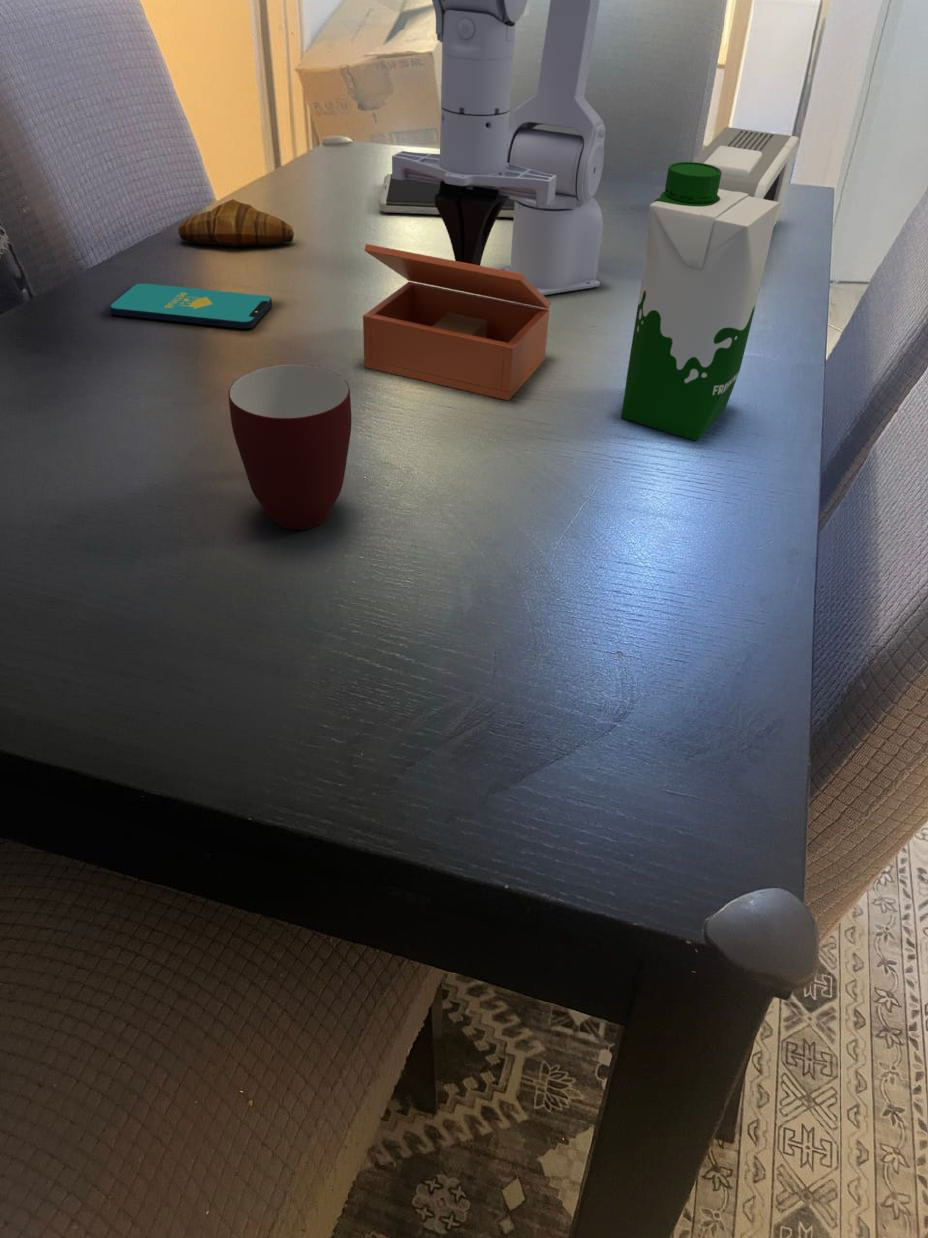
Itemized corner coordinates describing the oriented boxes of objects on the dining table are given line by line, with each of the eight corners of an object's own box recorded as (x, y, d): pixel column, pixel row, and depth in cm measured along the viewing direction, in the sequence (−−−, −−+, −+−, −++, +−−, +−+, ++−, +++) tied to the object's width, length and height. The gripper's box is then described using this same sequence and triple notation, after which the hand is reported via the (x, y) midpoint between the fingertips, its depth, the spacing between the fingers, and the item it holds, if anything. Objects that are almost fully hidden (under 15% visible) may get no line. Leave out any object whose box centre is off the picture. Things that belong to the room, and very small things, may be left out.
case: (508, 400, 85) (512, 347, 82) (364, 367, 89) (362, 315, 86) (544, 359, 92) (549, 309, 89) (408, 330, 96) (408, 280, 93)
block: (465, 370, 88) (466, 339, 86) (425, 361, 89) (426, 330, 87) (485, 350, 91) (487, 319, 89) (447, 341, 92) (448, 311, 90)
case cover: (520, 280, 79) (522, 273, 79) (364, 250, 83) (365, 243, 83) (549, 308, 89) (550, 302, 89) (408, 280, 93) (409, 274, 93)
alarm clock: (741, 290, 108) (766, 179, 101) (661, 275, 111) (680, 166, 103) (779, 223, 128) (802, 125, 120) (710, 211, 130) (729, 116, 123)
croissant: (296, 234, 117) (293, 191, 114) (292, 253, 112) (289, 209, 108) (184, 232, 116) (178, 188, 112) (175, 251, 111) (168, 206, 107)
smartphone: (137, 280, 101) (273, 294, 99) (138, 288, 101) (274, 302, 100) (106, 307, 95) (250, 322, 94) (108, 315, 96) (251, 330, 94)
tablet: (585, 223, 124) (587, 209, 123) (378, 215, 124) (378, 201, 123) (575, 193, 135) (577, 179, 134) (385, 185, 134) (384, 172, 133)
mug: (251, 469, 74) (237, 348, 68) (355, 468, 75) (350, 348, 69) (238, 548, 66) (221, 419, 60) (355, 546, 67) (349, 418, 61)
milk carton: (646, 382, 89) (687, 151, 76) (739, 410, 86) (798, 172, 73) (606, 419, 83) (643, 175, 70) (704, 449, 80) (761, 199, 67)
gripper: (374, 105, 78) (377, 272, 86) (541, 129, 73) (527, 302, 82) (412, 90, 83) (411, 249, 91) (570, 112, 79) (554, 276, 87)
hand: (468, 272), depth 87 cm, fingers closed
